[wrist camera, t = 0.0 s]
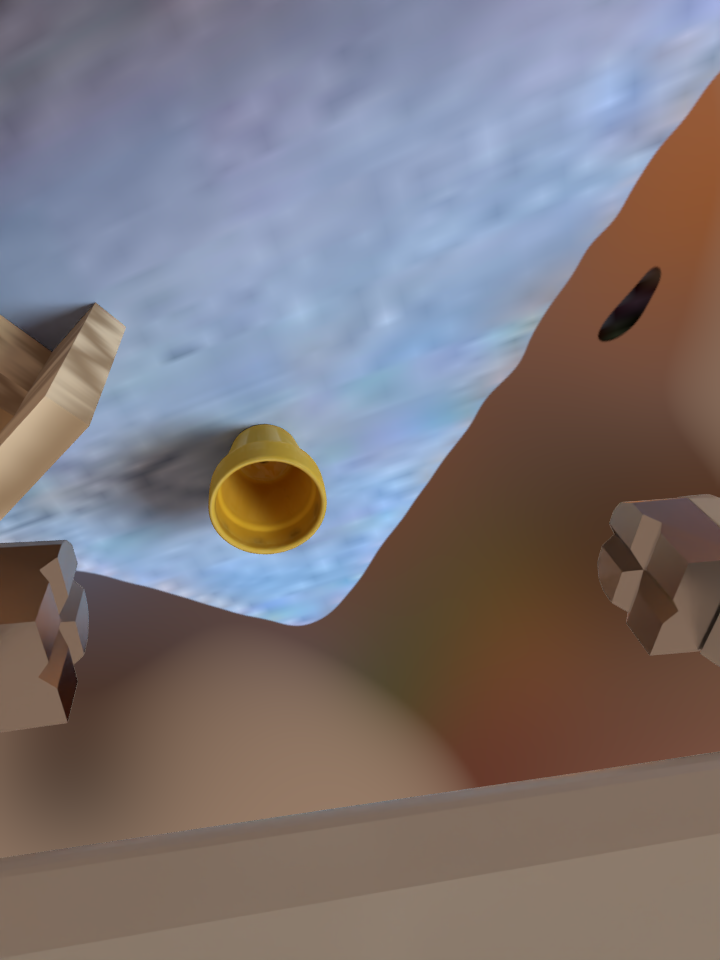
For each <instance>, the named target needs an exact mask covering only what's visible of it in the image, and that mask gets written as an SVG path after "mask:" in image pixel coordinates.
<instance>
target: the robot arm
mask: <svg viewBox="0 0 720 960" xmlns="http://www.w3.org/2000/svg"><path fill="white" fill-rule="evenodd" d="M609 524H610V526H611V528H612V530H613V532H614V535H613V536H612V537H611V538H610V539H609V540H608V541H606V542H605V543H604V544H603V545H602V548H601V551H600V555H599V559H598V573H599V574H598V575H599V581H600V583H601V586H602V588H603V591H604V593H605V594H606V595H607V597H608V598H609V600H610V601H611V603H613V604H615V605H616V606H618V607H620V608H622V609H623V610H625V611H627V612H628V615H627V622H626V624H627V625H628V626H629V628H630V629H631V630H632V632H633V633H634V635H635V636H636V637H637V639H638V640H639V641H640V643H641V644H642V646H643V647H644V648H645V650H646V651H647V652H648V654H649V655H660V654H672V653H684V652H695V651H701V653H700V654H701V655H703V656H704V657H706V658H707V659H709V660H710V661H712V662H713V663H714V664H716V665H717V666H719V667H720V498H718V497H715V496H712V495H709V494H704V495H693V496H684V497H678V498H672V499H658V500H646V501H631V502H621V503H620V504H619V505H618V506H617V507H616V508H615V509H614V511H613V514H612V517H611V520H610V523H609ZM77 564H78V563H77V560H76V556H75V553H74V549H73V546H72V544H71V543H70V542H69V541H67V540H55V541H35V542H14V543H0V732H6V731H13V730H21V729H28V728H35V727H41V726H48V725H56V724H63V723H68V720H69V716H70V711H71V707H72V703H73V699H74V695H75V691H76V687H77V683H78V680H77V677H76V672H75V669H74V664H75V663H76V662H77V661H78V660H79V659H80V658H81V657H82V656H84V653H85V649H86V644H87V639H88V623H89V622H88V621H89V615H88V606H87V599H86V595H85V591H84V588H83V587H82V586H80V585H79V584H77V583H76V582H75V581H74V580H73V578H74V575H75V571H76V568H77ZM0 960H720V752H714V753H708V754H701V755H694V756H687V757H681V758H674V759H667V760H662V761H655V762H647V763H640V764H634V765H627V766H620V767H614V768H607V769H601V770H594V771H587V772H580V773H574V774H567V775H561V776H554V777H546V778H540V779H533V780H526V781H519V782H512V783H506V784H499V785H492V786H485V787H479V788H472V789H465V790H458V791H452V792H445V793H438V794H431V795H425V796H417V797H410V798H404V799H397V800H390V801H383V802H377V803H370V804H363V805H356V806H349V807H343V808H336V809H329V810H322V811H316V812H309V813H302V814H295V815H288V816H282V817H275V818H269V819H261V820H254V821H248V822H241V823H234V824H227V825H221V826H214V827H207V828H201V829H194V830H187V831H181V832H174V833H167V834H160V835H153V836H146V837H140V838H133V839H126V840H120V841H113V842H106V843H99V844H92V845H86V846H79V847H72V848H65V849H59V850H52V851H45V852H38V853H31V854H25V855H18V856H11V857H5V858H0Z"/></svg>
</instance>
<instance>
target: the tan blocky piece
mask: <svg viewBox="0 0 720 960" xmlns="http://www.w3.org/2000/svg"><path fill="white" fill-rule="evenodd" d="M125 329H126V327H125V326H124V325H123V324H122V323H120V322H119V321H118V320H117V319H115V318H114V317H113V316H112V315H110V314H109V313H108V312H107V311H105V310H104V309H103V308H102V307H100V306H99V305H98V304H97V303H95V304H94V305H93V306H92V307H91V308H90V309H89V311H88V312H87V313H86V314H85V315H84V316H83V317H82V319H81V320H80V321H79V322H78V323H77V324H76V325H75V327H74V328H73V329H72V330H71V331H70V332H69V333H68V335H67V336H66V337H65V338H64V339H63V340H62V341H61V342H60V344H59V345H58V346H57V347H56V348H55V349H54V350H53V352H51V351H50V350H48V349H47V348H46V347H44V346H43V345H41V344H40V343H39V342H37V341H36V340H34V339H33V338H32V337H30V336H29V335H28V334H26V333H25V332H23V331H22V330H21V329H19V328H18V327H16V326H15V325H14V324H12V323H11V322H9V321H8V320H7V319H5V318H4V317H3V316H1V315H0V520H1V519H2V518H3V517H4V516H5V515H6V514H7V513H8V512H9V511H10V510H11V509H12V508H13V506H14V505H15V504H16V503H17V502H18V501H19V500H20V499H21V498H22V497H23V496H24V495H25V494H26V493H27V492H28V491H29V489H30V488H31V487H32V486H33V485H34V484H35V483H36V482H37V481H38V480H39V479H40V478H41V477H42V476H43V475H44V473H45V472H46V471H47V470H48V469H49V468H50V467H51V466H52V465H53V464H54V463H55V462H56V461H57V460H58V459H59V458H60V456H61V455H62V454H63V453H64V452H65V451H66V450H67V449H68V448H69V447H70V446H71V445H72V444H73V443H74V442H75V440H76V439H77V438H78V437H79V436H80V435H81V434H82V433H83V432H84V431H85V430H86V429H87V428H88V427H89V425H90V423H91V420H92V417H93V414H94V412H95V409H96V406H97V404H98V401H99V398H100V396H101V393H102V390H103V388H104V385H105V382H106V380H107V377H108V374H109V372H110V369H111V366H112V363H113V361H114V358H115V355H116V353H117V350H118V347H119V345H120V342H121V339H122V337H123V334H124V331H125Z"/></svg>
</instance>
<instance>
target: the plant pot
mask: <svg viewBox="0 0 720 960" xmlns="http://www.w3.org/2000/svg"><path fill="white" fill-rule="evenodd" d="M326 505H327V500H326V492H325V487H324V482H323V479H322V476H321V473H320V471H319V468H318V467H317V465H316V463H315V462H314V460H313V459H312V458H311V457H310V456H309V455H308V454H307V453H306V452H304V451H303V450H302V449H300V448H299V446H298V445H297V443H296V442H295V440H294V438H293V437H292V436H291V435H290V434H289V433H288V432H287V431H285V430H284V429H282V428H280V427H277V426H274V425H268V424H262V425H256V426H252V427H250V428H248V429H246V430H244V431H243V432H241V433H240V434H239V435H238V436H237V437H236V439H235V440H234V442H233V444H232V447H231V449H230V451H229V453H228V455H226V456H225V457H224V458H223V459H222V460H221V462H220V463H219V464H218V466H217V467H216V469H215V471H214V473H213V476H212V479H211V483H210V490H209V507H208V508H209V516H210V519H211V522H212V525H213V527H214V528H215V530H216V531H217V533H218V534H219V535H220V536H221V537H222V538H223V539H224V540H225V541H227V542H228V543H229V544H231V545H232V546H234V547H236V548H238V549H241V550H243V551H246V552H250V553H256V554H274V553H280V552H284V551H288V550H290V549H293V548H295V547H297V546H299V545H301V544H303V543H304V542H305V541H307V540H308V539H309V538H310V537H311V536H312V535H313V534H314V533H315V532H316V531H317V530H318V528H319V527H320V525H321V523H322V521H323V519H324V516H325V512H326Z"/></svg>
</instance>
